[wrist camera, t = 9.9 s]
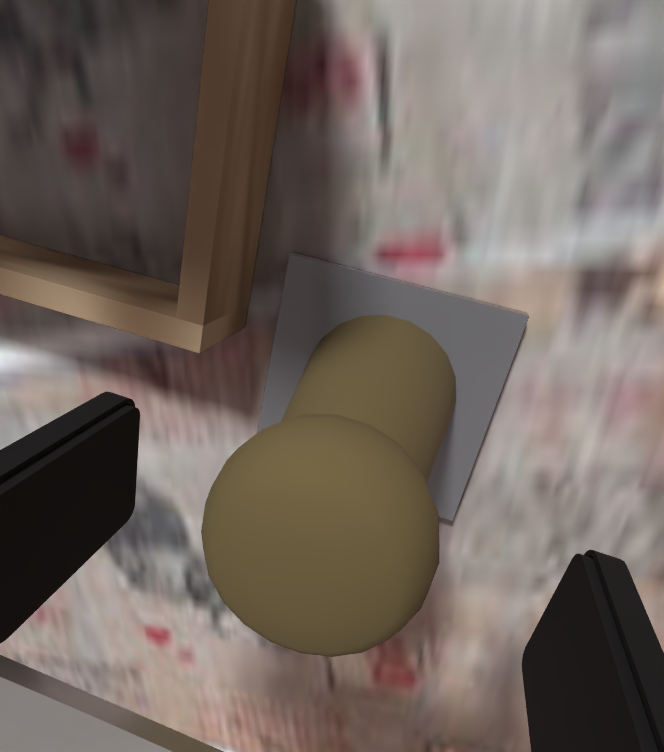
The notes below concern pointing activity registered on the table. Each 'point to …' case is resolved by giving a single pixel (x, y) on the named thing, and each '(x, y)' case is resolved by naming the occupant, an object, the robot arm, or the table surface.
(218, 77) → the wooden box
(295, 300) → the coaster
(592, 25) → the table surface
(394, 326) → the yellow tapered piece
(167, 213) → the table surface
